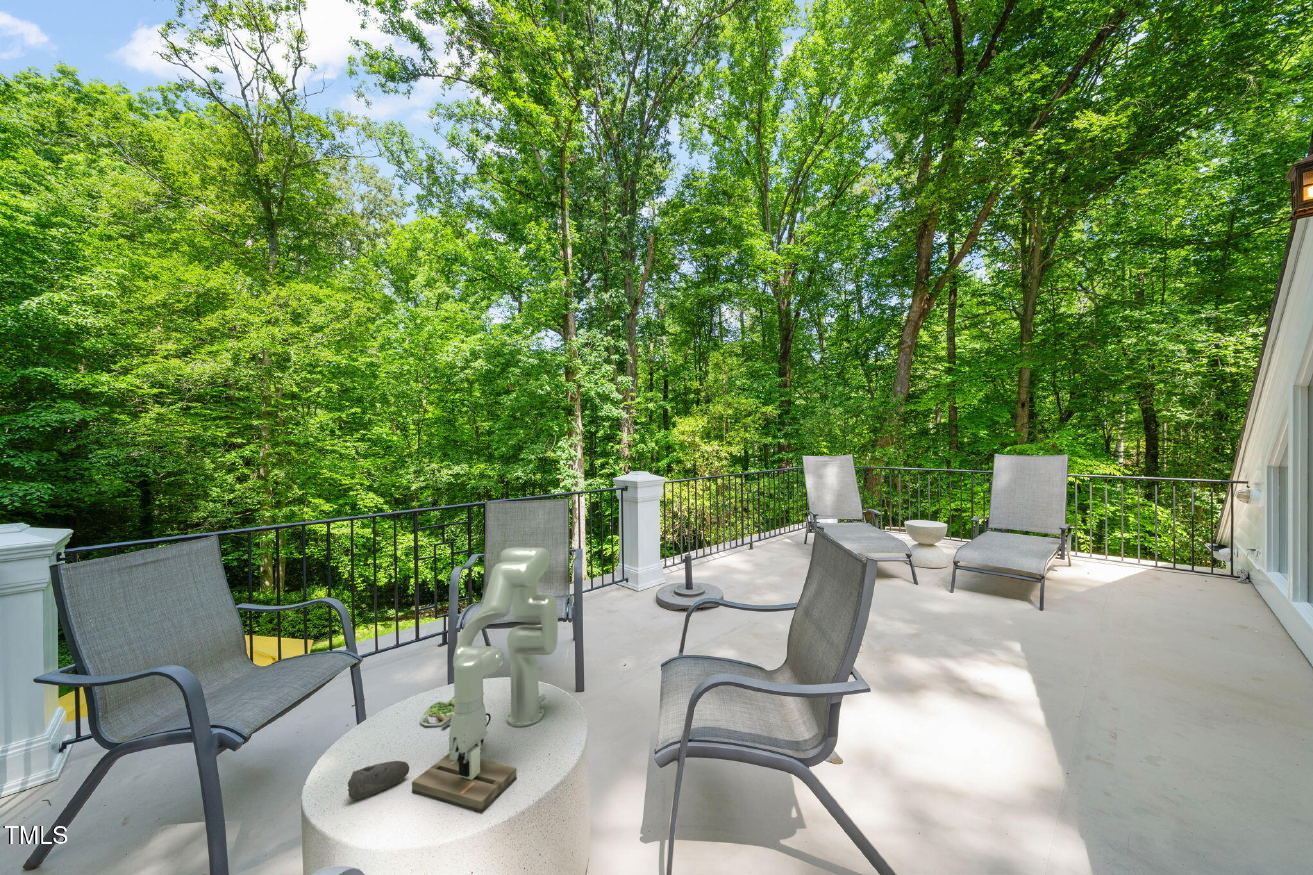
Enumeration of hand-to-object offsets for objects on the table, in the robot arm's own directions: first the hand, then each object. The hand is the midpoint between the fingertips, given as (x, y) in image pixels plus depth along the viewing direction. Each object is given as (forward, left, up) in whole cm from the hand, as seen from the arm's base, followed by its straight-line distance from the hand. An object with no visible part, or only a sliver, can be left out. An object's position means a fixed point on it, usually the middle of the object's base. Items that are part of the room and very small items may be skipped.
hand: (469, 770), depth 131 cm
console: (0, -2, -4) cm, 5 cm away
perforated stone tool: (+9, -24, -5) cm, 26 cm away
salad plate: (-29, -36, -5) cm, 46 cm away
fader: (0, 0, -3) cm, 3 cm away
